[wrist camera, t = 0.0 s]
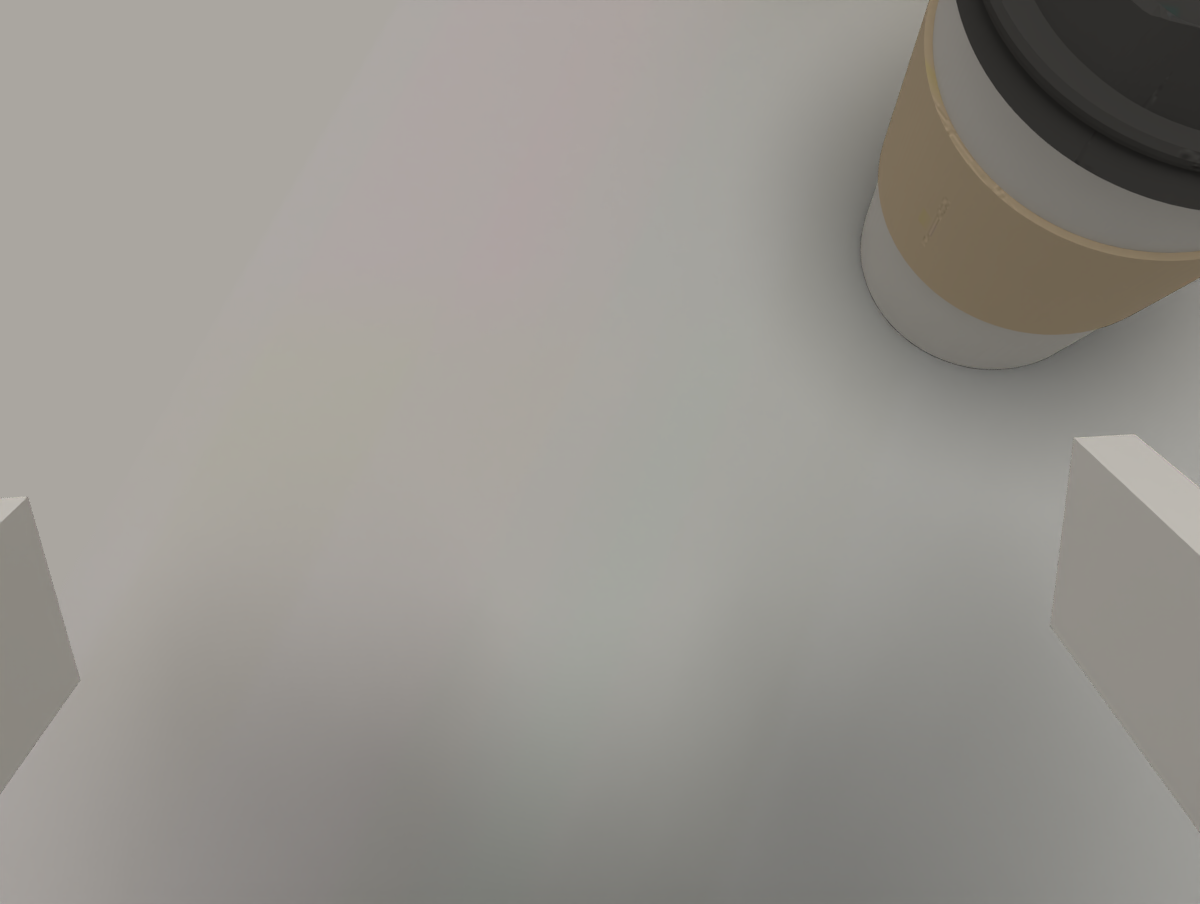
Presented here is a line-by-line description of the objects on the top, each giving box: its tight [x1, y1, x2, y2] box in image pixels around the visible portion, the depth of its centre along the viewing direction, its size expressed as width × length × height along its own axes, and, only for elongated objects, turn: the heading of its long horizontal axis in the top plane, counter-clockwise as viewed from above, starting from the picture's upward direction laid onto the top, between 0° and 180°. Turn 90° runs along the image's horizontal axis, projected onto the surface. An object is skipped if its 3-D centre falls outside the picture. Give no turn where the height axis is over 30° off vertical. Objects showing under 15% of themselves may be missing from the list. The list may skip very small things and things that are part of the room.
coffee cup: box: [861, 0, 1200, 369], centre depth 24 cm, size 9×9×15 cm
